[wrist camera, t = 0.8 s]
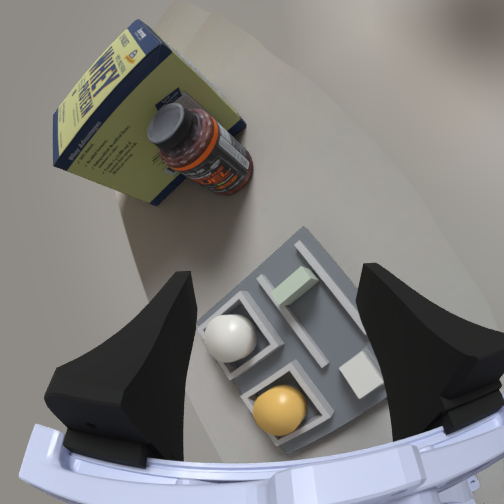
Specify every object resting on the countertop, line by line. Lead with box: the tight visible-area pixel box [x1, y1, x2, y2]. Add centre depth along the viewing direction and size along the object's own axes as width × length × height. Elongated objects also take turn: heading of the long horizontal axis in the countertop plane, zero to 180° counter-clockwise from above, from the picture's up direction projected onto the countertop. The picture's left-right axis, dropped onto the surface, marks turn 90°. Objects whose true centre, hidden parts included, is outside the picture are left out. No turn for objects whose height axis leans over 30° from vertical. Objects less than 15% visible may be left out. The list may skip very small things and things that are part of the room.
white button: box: [204, 314, 257, 363], centre depth 25 cm, size 4×4×2 cm
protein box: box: [53, 19, 246, 206], centre depth 29 cm, size 10×16×16 cm
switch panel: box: [197, 226, 387, 455], centre depth 24 cm, size 16×14×3 cm
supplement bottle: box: [147, 103, 253, 195], centre depth 27 cm, size 6×6×11 cm
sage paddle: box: [270, 266, 319, 305], centre depth 23 cm, size 1×3×3 cm, turn 127°
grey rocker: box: [339, 351, 384, 399], centre depth 20 cm, size 3×2×1 cm
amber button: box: [253, 385, 308, 436], centre depth 22 cm, size 4×4×2 cm
